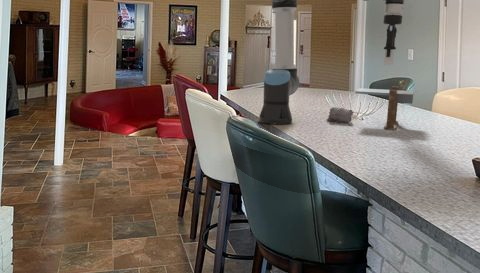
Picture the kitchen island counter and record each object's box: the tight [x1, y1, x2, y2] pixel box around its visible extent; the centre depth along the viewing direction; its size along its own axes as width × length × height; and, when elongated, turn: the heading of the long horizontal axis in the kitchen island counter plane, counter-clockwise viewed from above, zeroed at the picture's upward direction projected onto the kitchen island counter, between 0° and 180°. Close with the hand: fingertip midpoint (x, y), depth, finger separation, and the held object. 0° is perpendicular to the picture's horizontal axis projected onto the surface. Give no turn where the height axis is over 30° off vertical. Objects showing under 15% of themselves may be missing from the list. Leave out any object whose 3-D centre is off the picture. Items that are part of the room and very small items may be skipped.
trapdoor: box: [354, 87, 415, 105], centre depth 209 cm, size 24×16×4 cm, turn 69°
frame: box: [383, 85, 400, 131], centre depth 209 cm, size 5×22×17 cm, turn 159°
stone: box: [326, 106, 354, 123], centre depth 218 cm, size 8×12×7 cm, turn 66°
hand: (388, 64), depth 205 cm, fingers open, 13 cm apart
